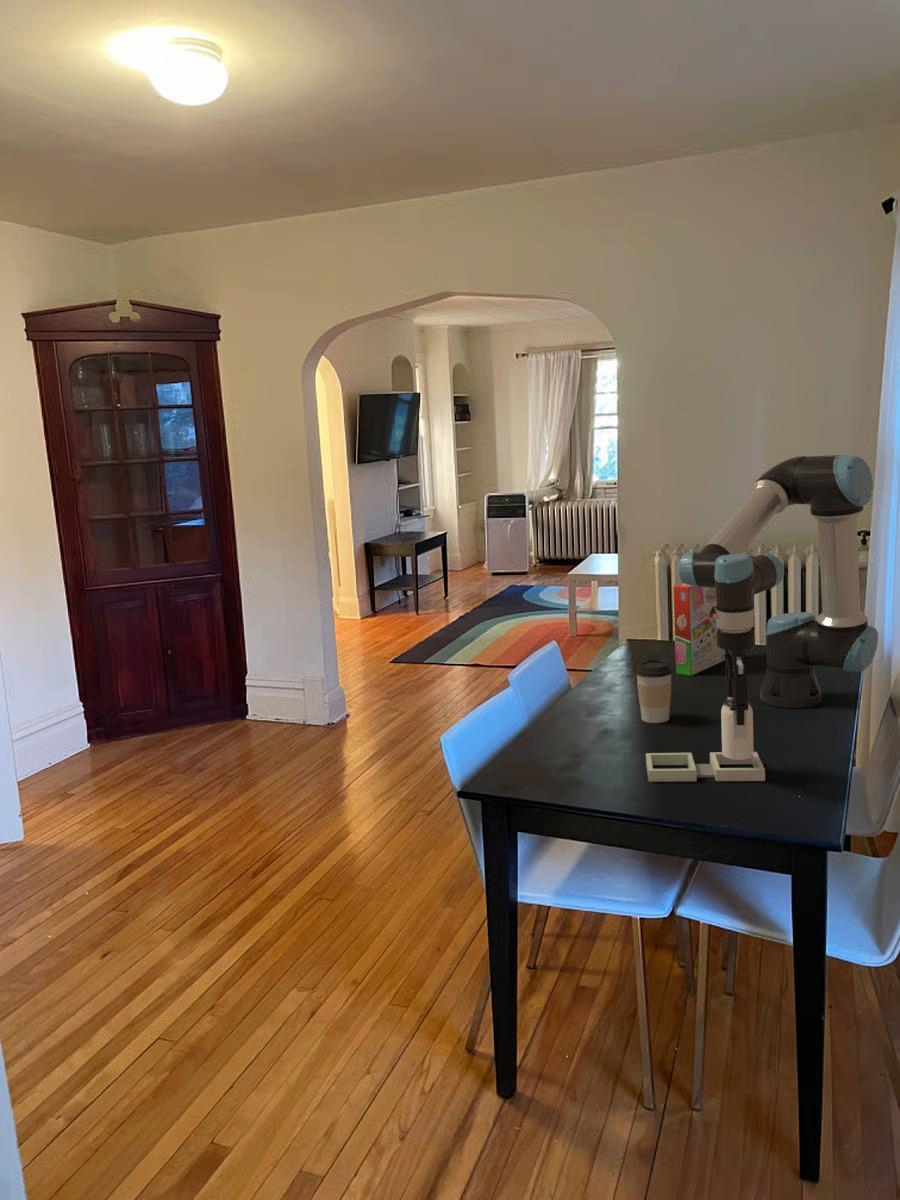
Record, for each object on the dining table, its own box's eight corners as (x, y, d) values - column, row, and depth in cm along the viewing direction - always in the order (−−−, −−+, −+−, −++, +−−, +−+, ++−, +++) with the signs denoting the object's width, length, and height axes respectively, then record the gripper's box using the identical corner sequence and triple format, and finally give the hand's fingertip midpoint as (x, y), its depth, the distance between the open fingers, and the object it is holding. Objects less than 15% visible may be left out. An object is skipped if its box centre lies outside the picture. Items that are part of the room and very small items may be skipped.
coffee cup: (674, 724, 222) (672, 667, 219) (637, 724, 224) (635, 668, 221) (672, 712, 230) (670, 657, 227) (637, 712, 232) (635, 658, 229)
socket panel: (756, 762, 195) (756, 751, 194) (765, 780, 185) (765, 769, 184) (646, 763, 199) (645, 753, 198) (648, 781, 189) (648, 770, 188)
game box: (712, 657, 277) (710, 573, 272) (728, 660, 273) (726, 574, 268) (675, 673, 264) (672, 585, 258) (691, 676, 260) (688, 586, 254)
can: (736, 763, 186) (735, 710, 184) (715, 754, 192) (714, 702, 189) (760, 756, 189) (759, 703, 186) (739, 747, 194) (738, 696, 192)
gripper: (710, 618, 194) (713, 716, 199) (723, 641, 176) (725, 749, 180) (745, 616, 193) (747, 715, 198) (762, 639, 174) (763, 748, 179)
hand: (737, 731), depth 189 cm, fingers closed on can, 6 cm apart
